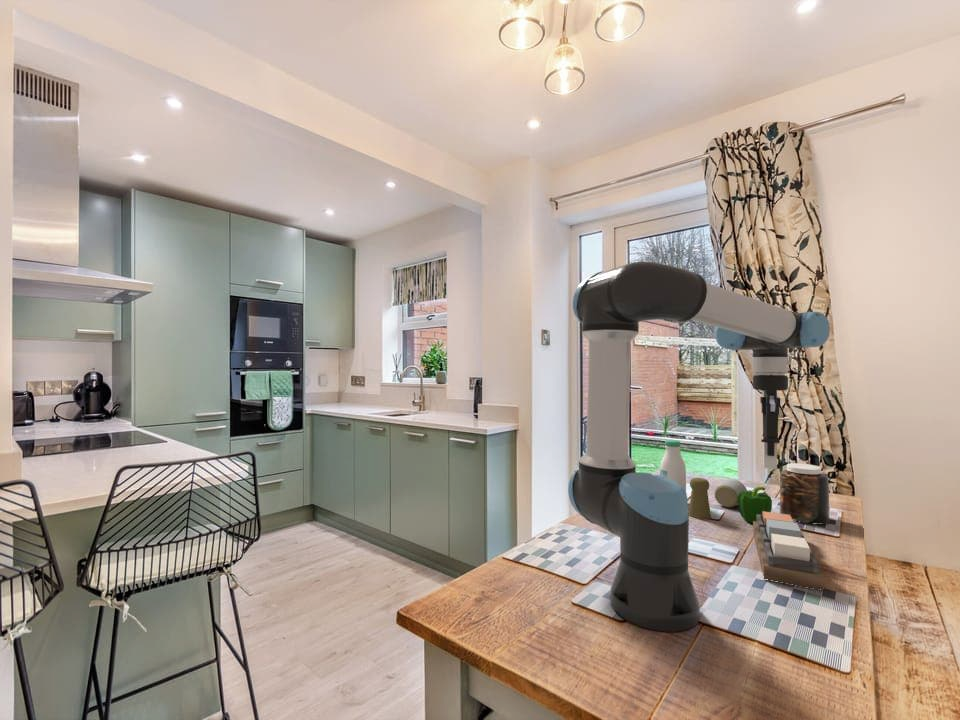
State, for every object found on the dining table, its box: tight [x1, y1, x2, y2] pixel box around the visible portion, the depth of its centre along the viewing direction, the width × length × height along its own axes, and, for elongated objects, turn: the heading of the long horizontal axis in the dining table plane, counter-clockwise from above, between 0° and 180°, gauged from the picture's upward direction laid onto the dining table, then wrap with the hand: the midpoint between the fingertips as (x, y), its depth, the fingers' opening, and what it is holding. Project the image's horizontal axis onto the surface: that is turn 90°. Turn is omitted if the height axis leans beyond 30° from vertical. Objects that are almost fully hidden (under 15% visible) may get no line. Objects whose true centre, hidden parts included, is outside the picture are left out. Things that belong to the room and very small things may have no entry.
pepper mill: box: [688, 477, 712, 520], centre depth 133 cm, size 6×6×11 cm
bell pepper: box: [737, 486, 773, 524], centre depth 128 cm, size 8×8×10 cm
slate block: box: [766, 519, 802, 539], centre depth 104 cm, size 6×6×3 cm
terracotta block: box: [762, 511, 793, 524], centre depth 114 cm, size 6×6×3 cm
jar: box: [779, 462, 830, 524], centre depth 131 cm, size 12×12×15 cm
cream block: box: [771, 533, 811, 561], centre depth 95 cm, size 6×6×3 cm
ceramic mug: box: [714, 478, 748, 509], centre depth 142 cm, size 11×8×8 cm
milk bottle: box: [659, 439, 687, 493], centre depth 146 cm, size 8×8×20 cm
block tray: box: [752, 514, 825, 591], centre depth 104 cm, size 30×10×5 cm, turn 153°
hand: (770, 468), depth 113 cm, fingers closed
